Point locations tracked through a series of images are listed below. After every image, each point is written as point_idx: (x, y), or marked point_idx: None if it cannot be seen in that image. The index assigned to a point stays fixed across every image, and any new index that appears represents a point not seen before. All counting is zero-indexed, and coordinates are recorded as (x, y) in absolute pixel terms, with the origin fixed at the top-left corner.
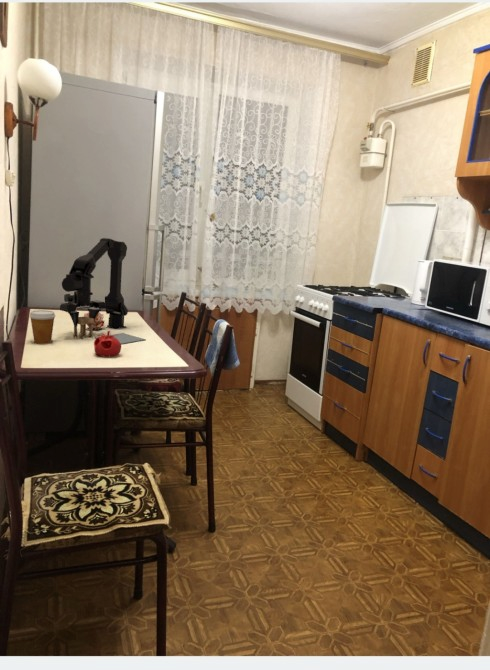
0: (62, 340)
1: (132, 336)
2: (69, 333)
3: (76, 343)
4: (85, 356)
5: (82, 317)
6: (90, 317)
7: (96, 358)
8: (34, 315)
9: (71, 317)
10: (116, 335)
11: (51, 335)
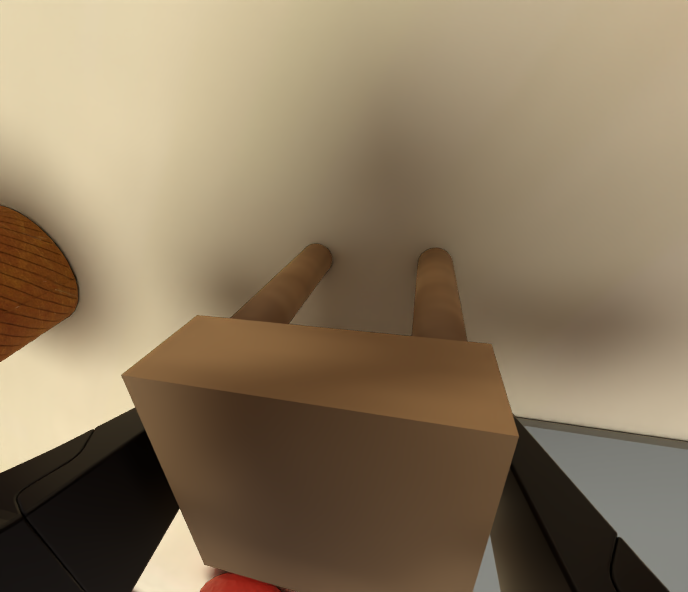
0: (161, 311)
1: None
2: (344, 61)
3: None
4: (174, 553)
5: (338, 479)
6: (524, 566)
7: (201, 583)
8: None
9: (45, 466)
10: (663, 491)
11: (20, 347)
